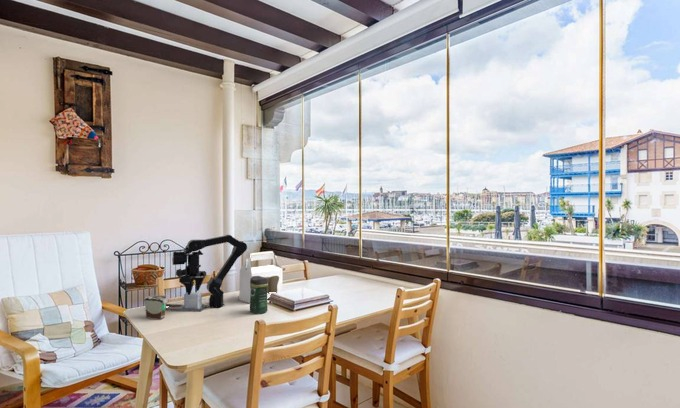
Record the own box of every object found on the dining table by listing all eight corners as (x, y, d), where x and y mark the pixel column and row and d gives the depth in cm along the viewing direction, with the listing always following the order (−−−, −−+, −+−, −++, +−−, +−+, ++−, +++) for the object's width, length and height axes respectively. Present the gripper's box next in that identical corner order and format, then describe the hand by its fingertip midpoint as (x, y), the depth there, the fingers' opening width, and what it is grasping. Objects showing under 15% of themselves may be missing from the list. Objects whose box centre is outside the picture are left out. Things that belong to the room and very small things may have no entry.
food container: (173, 316, 181) (173, 296, 181) (163, 320, 175) (163, 299, 175) (153, 313, 185) (154, 294, 185) (143, 317, 179) (144, 297, 179)
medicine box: (201, 308, 196) (202, 292, 196) (197, 310, 191) (198, 294, 192) (187, 307, 197) (188, 291, 197) (183, 310, 192) (183, 293, 192)
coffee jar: (269, 312, 190) (270, 276, 190) (256, 315, 185) (256, 278, 185) (260, 308, 197) (261, 274, 197) (247, 311, 192) (247, 275, 192)
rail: (207, 307, 198) (207, 305, 198) (200, 311, 190) (200, 309, 190) (164, 306, 200) (164, 303, 200) (156, 310, 192) (156, 307, 192)
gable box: (250, 304, 206) (251, 254, 206) (238, 299, 215) (239, 252, 215) (282, 297, 222) (283, 251, 222) (270, 293, 231) (270, 249, 231)
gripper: (187, 260, 204) (187, 288, 204) (169, 266, 186) (169, 296, 186) (206, 261, 203) (206, 288, 203) (190, 266, 185) (190, 297, 185)
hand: (193, 292), depth 194 cm, fingers open, 9 cm apart
